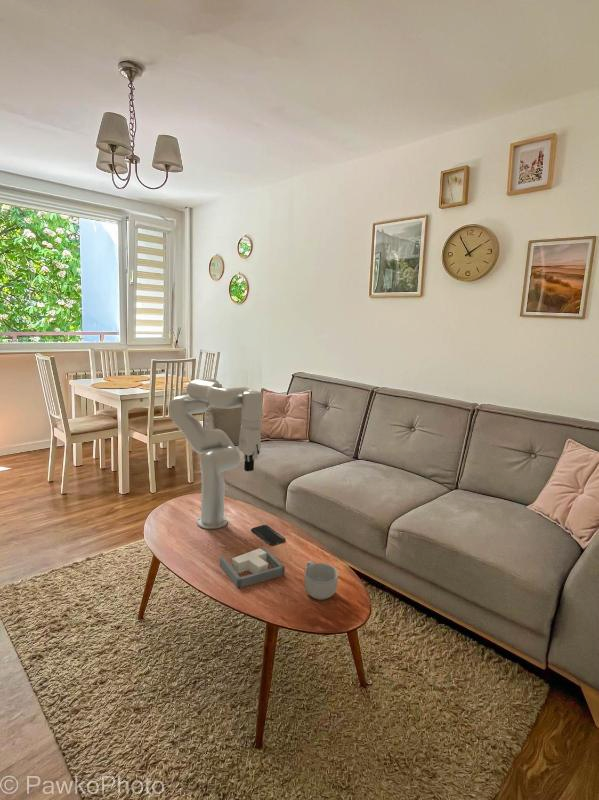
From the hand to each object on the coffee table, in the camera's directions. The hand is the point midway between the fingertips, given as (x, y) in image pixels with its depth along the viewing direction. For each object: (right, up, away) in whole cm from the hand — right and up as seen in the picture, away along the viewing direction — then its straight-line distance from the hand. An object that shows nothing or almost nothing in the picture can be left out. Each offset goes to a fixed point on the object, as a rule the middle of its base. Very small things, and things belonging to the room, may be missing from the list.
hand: (248, 470), depth 169 cm
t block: (+3, -32, -14) cm, 36 cm away
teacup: (+25, -36, -24) cm, 50 cm away
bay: (+2, -32, -14) cm, 35 cm away
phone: (+6, -29, +11) cm, 31 cm away
